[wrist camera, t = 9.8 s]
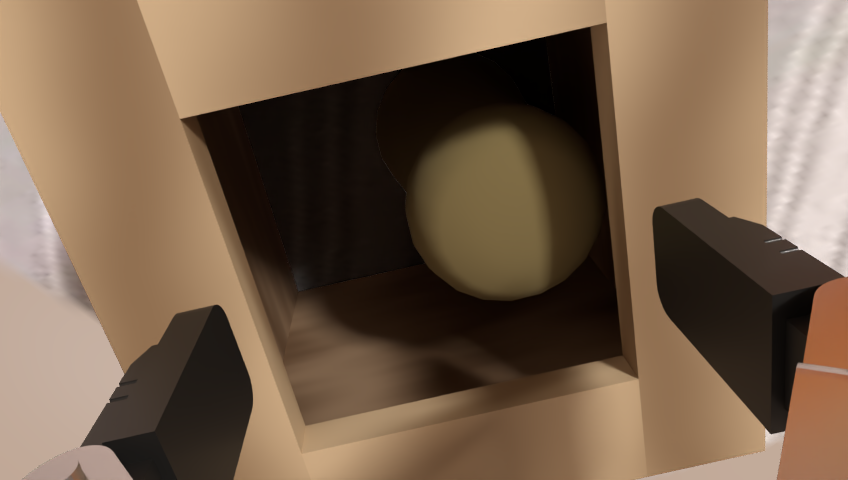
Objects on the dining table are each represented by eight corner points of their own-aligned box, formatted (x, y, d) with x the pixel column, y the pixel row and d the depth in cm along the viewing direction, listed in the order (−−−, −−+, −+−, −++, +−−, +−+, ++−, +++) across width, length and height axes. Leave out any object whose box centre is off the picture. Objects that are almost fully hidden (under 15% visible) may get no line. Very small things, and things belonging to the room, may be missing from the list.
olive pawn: (439, 229, 27) (494, 379, 17) (343, 119, 25) (339, 216, 15) (555, 136, 26) (687, 237, 16) (465, 14, 24) (551, 40, 14)
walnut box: (555, -110, 22) (769, -207, 10) (595, 246, 28) (765, 450, 16) (167, -22, 23) (-62, -19, 11) (282, 316, 28) (218, 571, 16)
